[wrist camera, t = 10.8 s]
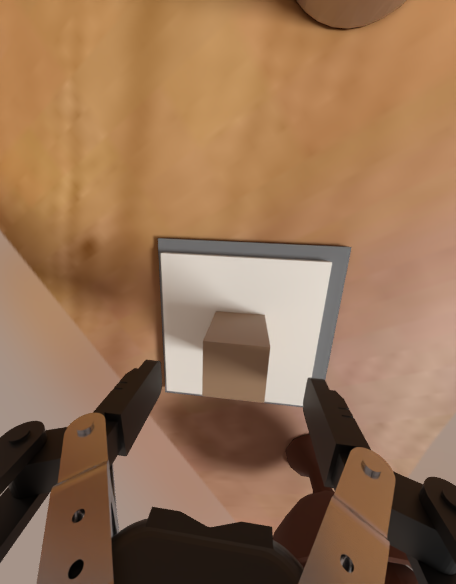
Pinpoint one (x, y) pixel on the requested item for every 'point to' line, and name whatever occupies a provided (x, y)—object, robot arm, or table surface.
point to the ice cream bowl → (322, 516)
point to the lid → (242, 325)
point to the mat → (283, 251)
